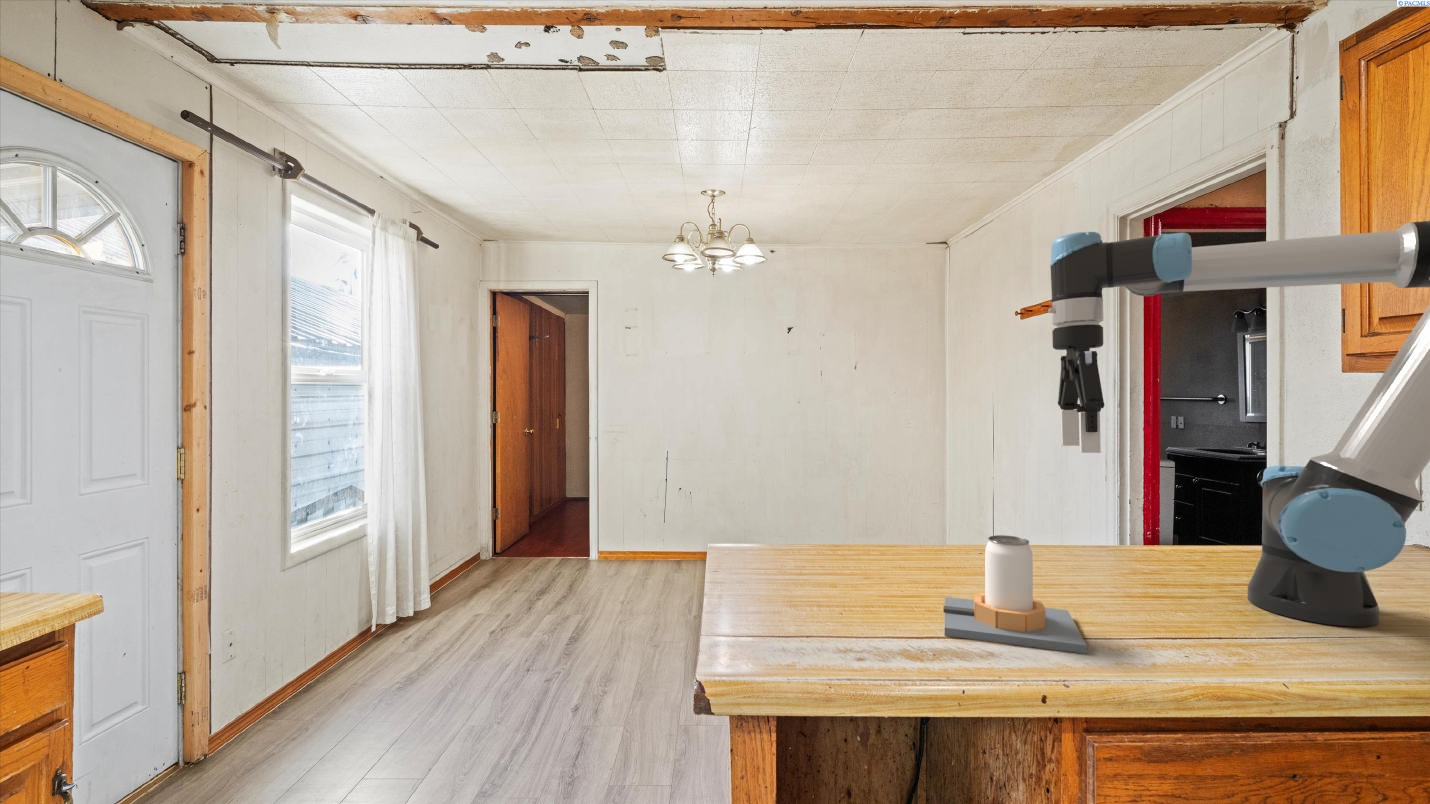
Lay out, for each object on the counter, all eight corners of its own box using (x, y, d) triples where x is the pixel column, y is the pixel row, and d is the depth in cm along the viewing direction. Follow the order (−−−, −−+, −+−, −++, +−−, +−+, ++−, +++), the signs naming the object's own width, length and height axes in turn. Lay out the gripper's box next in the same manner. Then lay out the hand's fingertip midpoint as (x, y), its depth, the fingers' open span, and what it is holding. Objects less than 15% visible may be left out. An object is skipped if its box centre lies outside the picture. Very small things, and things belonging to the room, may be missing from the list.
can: (1038, 627, 88) (1038, 546, 88) (990, 624, 90) (990, 544, 89) (1024, 611, 95) (1025, 535, 94) (980, 609, 96) (980, 533, 96)
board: (1067, 617, 95) (1067, 594, 95) (1086, 653, 82) (1086, 626, 82) (943, 603, 102) (943, 581, 102) (943, 635, 89) (943, 610, 89)
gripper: (1039, 333, 117) (1041, 443, 118) (1069, 318, 94) (1072, 455, 94) (1083, 331, 115) (1085, 442, 115) (1125, 315, 91) (1128, 456, 92)
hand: (1079, 449), depth 105 cm, fingers open, 13 cm apart
